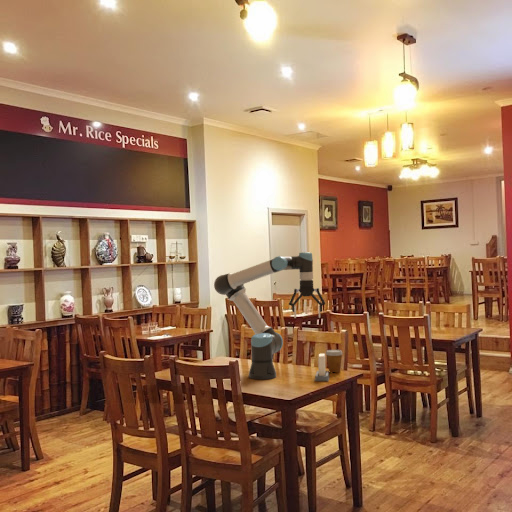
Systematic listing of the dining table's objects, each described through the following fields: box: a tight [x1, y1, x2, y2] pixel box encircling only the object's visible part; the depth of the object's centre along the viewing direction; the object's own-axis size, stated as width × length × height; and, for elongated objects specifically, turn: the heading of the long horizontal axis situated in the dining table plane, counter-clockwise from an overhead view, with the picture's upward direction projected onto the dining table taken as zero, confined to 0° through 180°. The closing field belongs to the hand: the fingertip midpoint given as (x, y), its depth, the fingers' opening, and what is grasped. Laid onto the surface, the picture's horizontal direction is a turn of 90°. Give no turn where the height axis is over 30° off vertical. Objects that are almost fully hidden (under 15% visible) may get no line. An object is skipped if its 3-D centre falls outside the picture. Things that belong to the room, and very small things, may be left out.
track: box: [314, 370, 330, 382], centre depth 296 cm, size 7×14×3 cm, turn 170°
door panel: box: [317, 353, 327, 376], centre depth 296 cm, size 9×3×12 cm, turn 170°
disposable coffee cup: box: [325, 349, 343, 373], centre depth 313 cm, size 10×10×12 cm
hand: (307, 317), depth 307 cm, fingers open, 13 cm apart
